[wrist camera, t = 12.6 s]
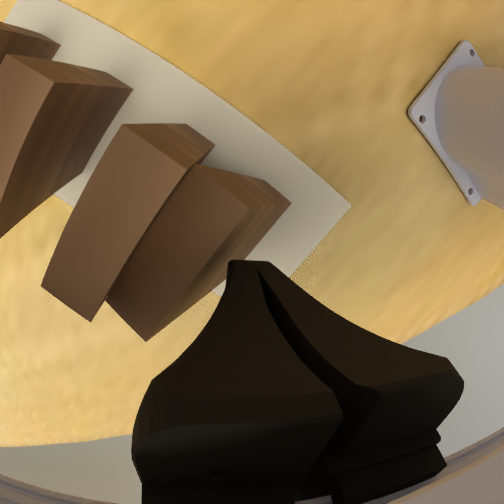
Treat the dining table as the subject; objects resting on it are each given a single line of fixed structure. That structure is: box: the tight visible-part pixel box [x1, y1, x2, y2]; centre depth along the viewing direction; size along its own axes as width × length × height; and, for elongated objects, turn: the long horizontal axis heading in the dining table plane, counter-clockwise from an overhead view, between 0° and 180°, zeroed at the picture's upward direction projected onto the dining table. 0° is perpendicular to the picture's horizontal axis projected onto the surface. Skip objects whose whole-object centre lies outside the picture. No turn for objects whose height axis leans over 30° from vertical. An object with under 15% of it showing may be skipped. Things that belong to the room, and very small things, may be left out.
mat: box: [4, 0, 352, 297], centre depth 15 cm, size 23×9×1 cm, turn 51°
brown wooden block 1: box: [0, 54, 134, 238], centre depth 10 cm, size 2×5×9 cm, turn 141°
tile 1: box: [105, 164, 292, 342], centre depth 13 cm, size 2×5×9 cm, turn 141°
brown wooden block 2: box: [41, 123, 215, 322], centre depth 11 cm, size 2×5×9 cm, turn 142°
